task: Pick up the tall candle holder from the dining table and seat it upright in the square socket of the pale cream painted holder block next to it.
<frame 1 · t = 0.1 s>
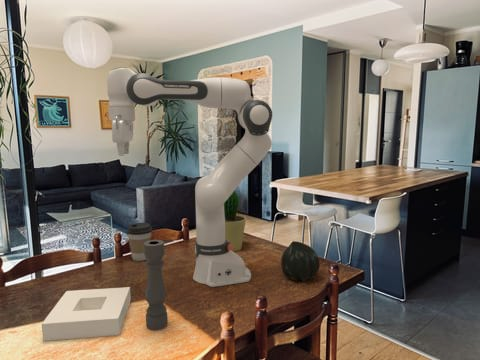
hand: (123, 154, 128), 48 cm above the table, fingers open, 8 cm apart
coffee cup: (140, 258, 160), on the table
potted cactus: (230, 248, 173), on the table
socket block: (91, 319, 109), on the table
candle holder: (157, 325, 106), on the table
squash: (299, 277, 139), on the table
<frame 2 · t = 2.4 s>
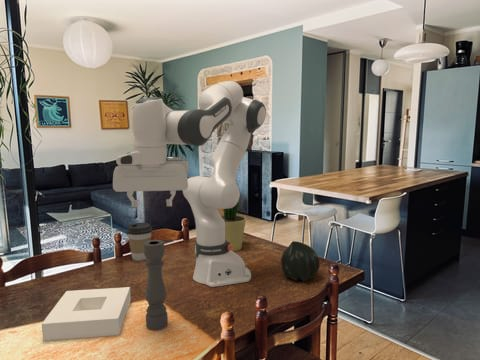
hand: (152, 206, 100), 36 cm above the table, fingers open, 8 cm apart
nothing on the table moved.
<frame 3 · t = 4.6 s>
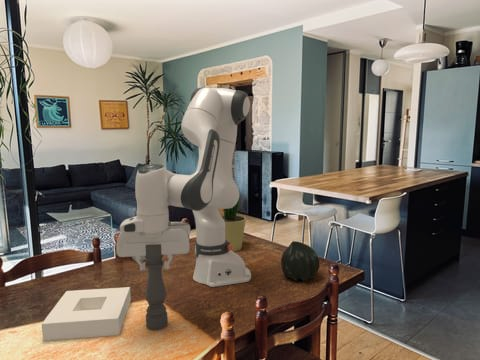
hand: (154, 269, 103), 17 cm above the table, fingers closed on candle holder, 5 cm apart
candle holder: (156, 325, 105), on the table, touching gripper
everything else where it was.
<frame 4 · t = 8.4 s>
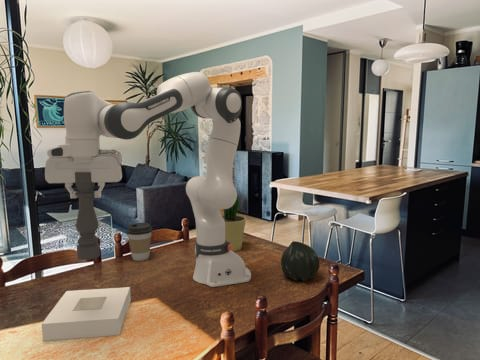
hand: (86, 197, 103), 37 cm above the table, fingers closed on candle holder, 5 cm apart
candle holder: (88, 256, 105), point 20 cm above the table, touching gripper
everything else where it was.
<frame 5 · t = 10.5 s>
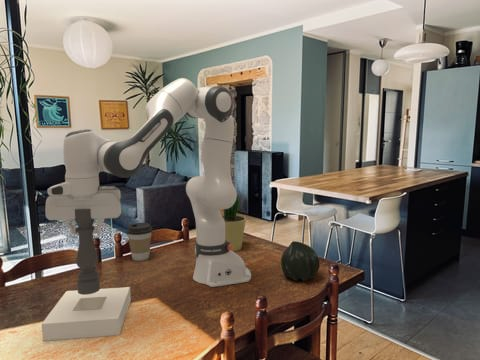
hand: (85, 233, 105), 27 cm above the table, fingers closed on candle holder, 5 cm apart
candle holder: (89, 290, 107), point 9 cm above the table, touching gripper
everything else where it was.
when the fingers open (19 cm above the table, at t = 12.4 s): candle holder drops 1 cm, resting on socket block.
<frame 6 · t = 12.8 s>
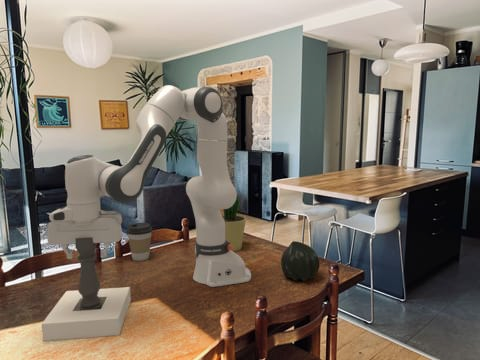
hand: (87, 257, 106), 20 cm above the table, fingers open, 8 cm apart
candle holder: (91, 316, 108), point 1 cm above the table, touching socket block
everything else where it was.
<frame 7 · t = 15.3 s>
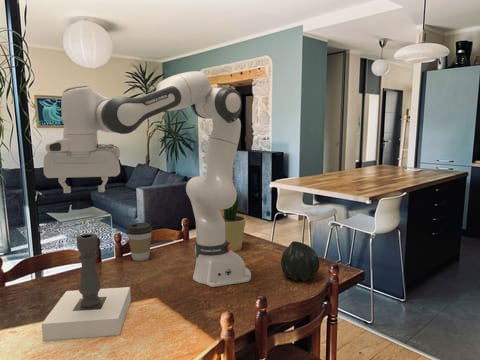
hand: (84, 192, 104), 39 cm above the table, fingers open, 8 cm apart
nothing on the table moved.
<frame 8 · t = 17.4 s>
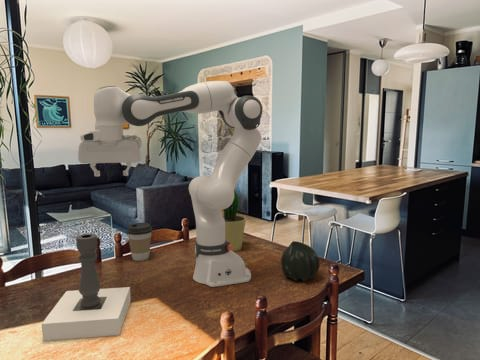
hand: (111, 176, 123), 41 cm above the table, fingers open, 8 cm apart
nothing on the table moved.
at the end: candle holder 0.3 cm off-centre on the socket block, point 0.8 cm above the socket block's base; candle holder tilted 0°; the gripper is holding nothing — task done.
